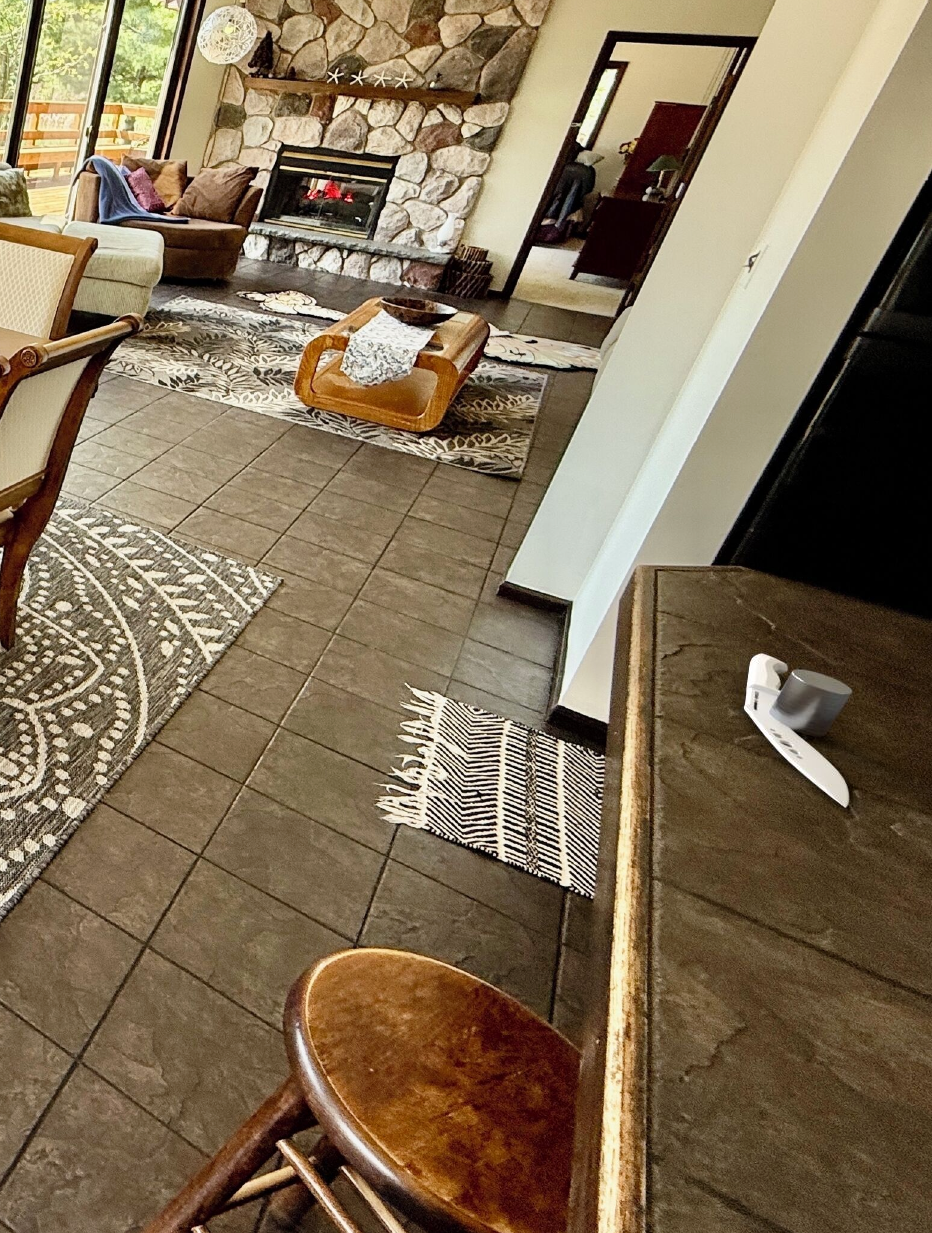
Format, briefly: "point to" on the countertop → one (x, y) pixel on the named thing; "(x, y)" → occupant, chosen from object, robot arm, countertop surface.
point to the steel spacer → (810, 702)
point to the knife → (806, 758)
